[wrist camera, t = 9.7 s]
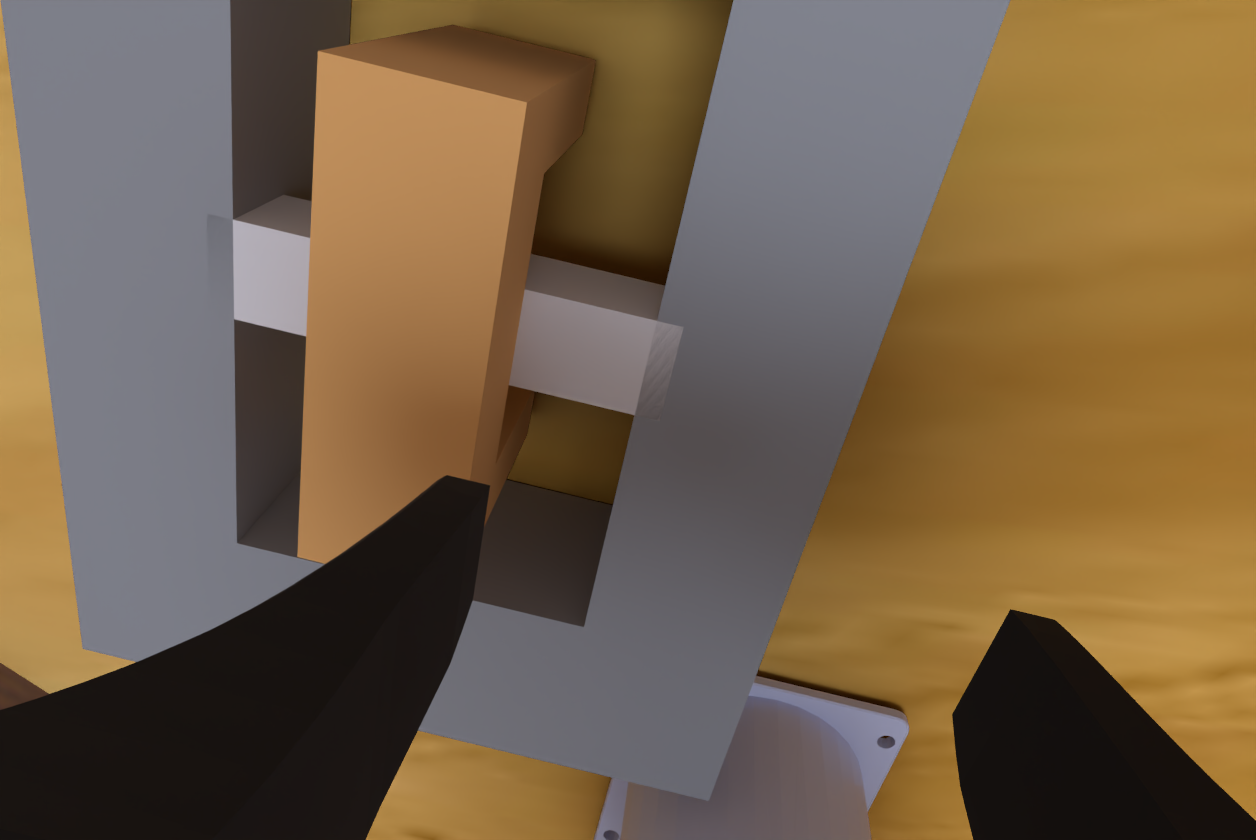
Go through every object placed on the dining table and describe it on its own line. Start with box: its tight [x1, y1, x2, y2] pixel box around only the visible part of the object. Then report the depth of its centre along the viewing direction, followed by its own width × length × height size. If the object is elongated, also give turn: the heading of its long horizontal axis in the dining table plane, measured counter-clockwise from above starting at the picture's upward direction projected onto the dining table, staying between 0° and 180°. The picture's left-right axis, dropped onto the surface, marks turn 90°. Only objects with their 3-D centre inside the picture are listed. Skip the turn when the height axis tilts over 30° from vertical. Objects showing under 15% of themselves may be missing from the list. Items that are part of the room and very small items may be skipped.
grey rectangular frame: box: [1, 0, 1010, 801], centre depth 19 cm, size 22×16×5 cm
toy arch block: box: [297, 25, 596, 564], centre depth 17 cm, size 9×3×6 cm, turn 168°
